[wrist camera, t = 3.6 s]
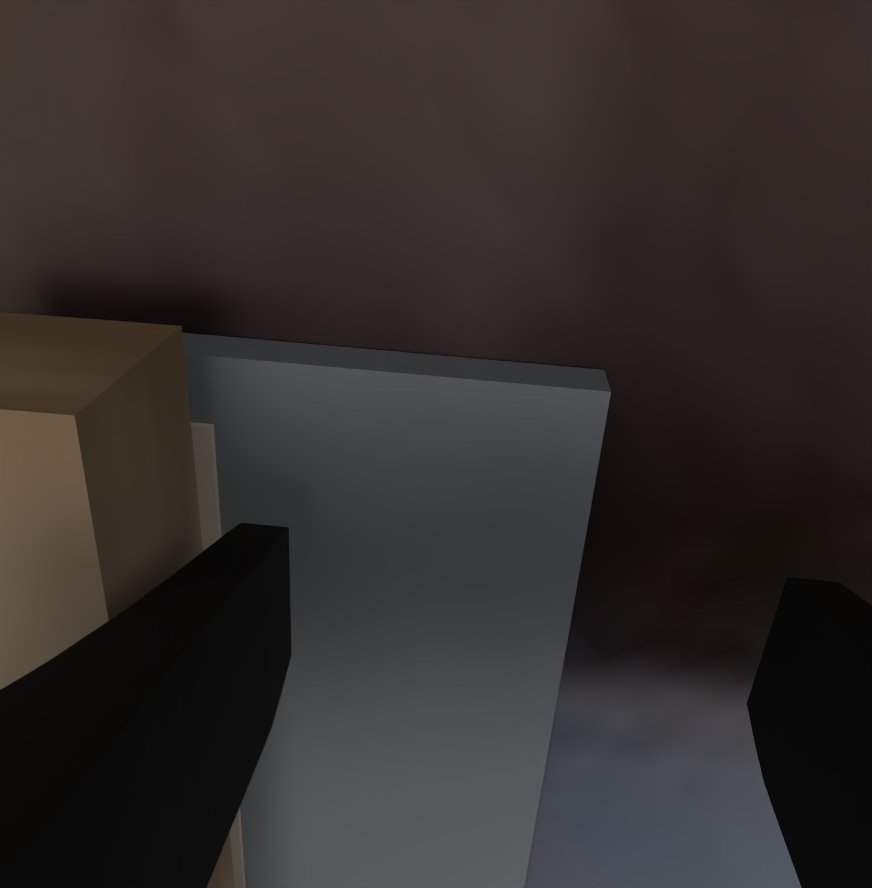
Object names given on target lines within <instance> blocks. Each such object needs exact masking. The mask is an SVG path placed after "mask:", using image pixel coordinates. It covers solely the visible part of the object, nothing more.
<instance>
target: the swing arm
mask: <svg viewBox="0 0 872 888" xmlns="http://www.w3.org/2000/svg"><path fill="white" fill-rule="evenodd" d="M201 552H203V546H202V536H201V525H200V514H199V504H198V493H197V483H196V472H195V461H194V451H193V440H192V430H191V419H190V409H189V398H188V387H187V377H186V366H185V356H184V345H183V334H182V326H177V325H164V324H151V323H138V322H125V321H112V320H99V319H86V318H73V317H60V316H48V315H35V314H22V313H9V312H0V690H1V689H2V688H4V687H6V686H8V685H9V684H11V683H13V682H14V681H16V680H18V679H19V678H21V677H23V676H25V675H26V674H28V673H30V672H31V671H33V670H35V669H36V668H38V667H39V666H41V665H43V664H44V663H46V662H48V661H49V660H51V659H52V658H54V657H55V656H57V655H58V654H60V653H61V652H63V651H64V650H66V649H67V648H69V647H70V646H72V645H73V644H75V643H76V642H78V641H79V640H81V639H82V638H84V637H85V636H87V635H88V634H90V633H91V632H93V631H94V630H96V629H97V628H99V627H100V626H102V625H103V624H105V623H106V622H108V621H109V620H111V619H112V618H114V617H115V616H117V615H118V614H120V613H121V612H123V611H124V610H125V609H127V608H128V607H130V606H131V605H132V604H134V603H135V602H136V601H138V600H139V599H140V598H142V597H143V596H145V595H146V594H147V593H149V592H150V591H151V590H153V589H154V588H155V587H157V586H158V585H159V584H161V583H162V582H163V581H165V580H166V579H167V578H169V577H170V576H171V575H173V574H174V573H175V572H177V571H178V570H179V569H181V568H182V567H183V566H185V565H186V564H187V563H188V562H190V561H191V560H192V559H194V558H195V557H196V556H198V555H199V554H200V553H201ZM207 888H235V885H234V875H233V864H232V853H231V843H230V832H229V834H228V837H227V839H226V842H225V844H224V847H223V849H222V852H221V854H220V856H219V859H218V861H217V864H216V866H215V869H214V871H213V874H212V876H211V878H210V881H209V883H208V886H207Z"/></svg>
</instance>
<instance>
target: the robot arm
mask: <svg viewBox="0 0 872 888" xmlns="http://www.w3.org/2000/svg"><path fill="white" fill-rule="evenodd" d="M291 655H292V650H291V606H290V562H289V527H281V526H271V525H261V524H251V523H240V524H238V525H237V526H236V527H234V528H233V529H231V530H230V531H229V532H227V533H226V534H225V535H224V536H222V537H221V538H220V539H218V540H217V541H216V542H214V543H213V544H212V545H211V546H209V547H208V548H207V549H205V550H204V551H203V552H201V553H200V554H199V555H198V556H196V557H195V558H194V559H192V560H191V561H190V562H188V563H187V564H186V565H185V566H183V567H182V568H181V569H179V570H178V571H177V572H175V573H174V574H173V575H171V576H170V577H169V578H167V579H166V580H165V581H163V582H162V583H161V584H159V585H158V586H157V587H155V588H154V589H153V590H151V591H150V592H149V593H147V594H146V595H145V596H143V597H142V598H140V599H139V600H138V601H136V602H135V603H134V604H132V605H131V606H130V607H128V608H127V609H125V610H124V611H123V612H121V613H120V614H118V615H117V616H115V617H114V618H112V619H111V620H109V621H108V622H106V623H105V624H103V625H102V626H100V627H99V628H97V629H96V630H94V631H93V632H91V633H90V634H88V635H87V636H85V637H84V638H82V639H81V640H79V641H78V642H76V643H75V644H73V645H72V646H70V647H69V648H67V649H66V650H64V651H63V652H61V653H60V654H58V655H57V656H55V657H54V658H52V659H51V660H49V661H48V662H46V663H44V664H43V665H41V666H39V667H38V668H36V669H35V670H33V671H31V672H30V673H28V674H26V675H25V676H23V677H21V678H19V679H18V680H16V681H14V682H13V683H11V684H9V685H8V686H6V687H4V688H2V689H1V690H0V888H207V886H208V883H209V881H210V878H211V876H212V874H213V871H214V869H215V866H216V864H217V861H218V859H219V856H220V854H221V852H222V849H223V847H224V844H225V842H226V839H227V837H228V834H229V832H230V830H231V827H232V825H233V822H234V820H235V817H236V815H237V812H238V810H239V808H240V805H241V803H242V800H243V798H244V795H245V793H246V790H247V788H248V786H249V783H250V781H251V778H252V776H253V773H254V771H255V768H256V766H257V763H258V761H259V758H260V756H261V753H262V751H263V748H264V746H265V743H266V741H267V738H268V736H269V733H270V731H271V728H272V725H273V722H274V718H275V714H276V711H277V707H278V704H279V700H280V697H281V693H282V689H283V685H284V682H285V678H286V674H287V670H288V666H289V662H290V659H291ZM747 706H748V711H749V716H750V721H751V726H752V731H753V736H754V741H755V746H756V750H757V754H758V759H759V763H760V767H761V771H762V776H763V780H764V783H765V786H766V789H767V792H768V795H769V798H770V801H771V804H772V807H773V809H774V812H775V815H776V818H777V821H778V823H779V826H780V829H781V832H782V835H783V837H784V840H785V843H786V846H787V849H788V851H789V854H790V857H791V860H792V862H793V865H794V868H795V871H796V873H797V876H798V879H799V881H800V884H801V887H802V888H872V606H871V605H870V604H869V603H867V602H866V601H865V600H863V599H862V598H861V597H859V596H858V595H856V594H855V593H854V592H852V591H851V590H849V589H848V588H846V587H845V586H843V585H842V584H840V583H839V582H830V581H820V580H810V579H800V578H790V577H787V580H786V583H785V586H784V589H783V592H782V595H781V599H780V602H779V605H778V608H777V611H776V614H775V617H774V620H773V624H772V627H771V630H770V633H769V636H768V639H767V642H766V645H765V648H764V652H763V655H762V658H761V661H760V664H759V667H758V670H757V673H756V676H755V680H754V683H753V686H752V689H751V692H750V695H749V698H748V701H747Z"/></svg>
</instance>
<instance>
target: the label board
mask: <svg viewBox="0 0 872 888" xmlns="http://www.w3.org/2000/svg"><path fill="white" fill-rule="evenodd" d="M182 334H183V345H184V356H185V366H186V377H187V387H188V398H189V409H190V419H191V430H192V440H193V451H194V461H195V472H196V483H197V493H198V504H199V514H200V525H201V536H202V546H203V551H204V550H205V549H207V548H208V547H209V546H211V545H212V544H213V543H214V542H216V541H217V540H218V539H220V538H221V537H222V536H224V535H225V534H226V533H227V532H229V531H230V530H231V529H233V528H234V527H236V526H237V525H238V524H240V523H251V524H261V525H271V526H281V527H289V562H290V606H291V650H292V655H291V659H290V662H289V666H288V670H287V674H286V678H285V682H284V685H283V689H282V693H281V697H280V700H279V704H278V707H277V711H276V714H275V718H274V722H273V725H272V728H271V731H270V733H269V736H268V738H267V741H266V743H265V746H264V748H263V751H262V753H261V756H260V758H259V761H258V763H257V766H256V768H255V771H254V773H253V776H252V778H251V781H250V783H249V786H248V788H247V790H246V793H245V795H244V798H243V800H242V803H241V805H240V808H239V810H238V812H237V815H236V817H235V820H234V822H233V825H232V827H231V830H230V843H231V853H232V864H233V875H234V885H235V888H524V886H525V880H526V875H527V869H528V863H529V857H530V852H531V846H532V840H533V835H534V829H535V823H536V818H537V812H538V806H539V800H540V795H541V789H542V783H543V778H544V772H545V766H546V760H547V755H548V749H549V743H550V738H551V732H552V726H553V721H554V715H555V709H556V703H557V698H558V692H559V686H560V681H561V675H562V669H563V663H564V658H565V652H566V646H567V641H568V635H569V629H570V624H571V618H572V612H573V606H574V601H575V595H576V589H577V584H578V578H579V572H580V566H581V561H582V555H583V549H584V544H585V538H586V532H587V527H588V521H589V515H590V509H591V504H592V498H593V492H594V487H595V481H596V475H597V469H598V464H599V458H600V452H601V447H602V441H603V435H604V430H605V424H606V418H607V412H608V407H609V401H610V395H611V390H610V387H609V383H608V380H607V377H606V373H605V370H601V369H590V368H578V367H567V366H556V365H544V364H533V363H522V362H510V361H499V360H487V359H476V358H465V357H453V356H442V355H431V354H419V353H408V352H397V351H385V350H374V349H362V348H351V347H340V346H328V345H317V344H306V343H294V342H283V341H272V340H260V339H249V338H238V337H226V336H215V335H203V334H192V333H182Z"/></svg>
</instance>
